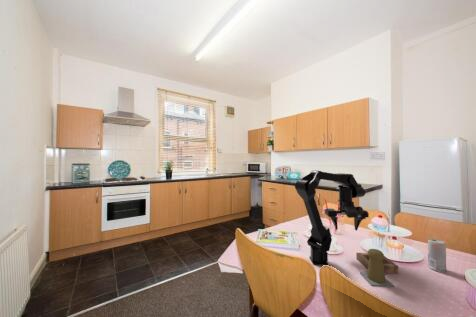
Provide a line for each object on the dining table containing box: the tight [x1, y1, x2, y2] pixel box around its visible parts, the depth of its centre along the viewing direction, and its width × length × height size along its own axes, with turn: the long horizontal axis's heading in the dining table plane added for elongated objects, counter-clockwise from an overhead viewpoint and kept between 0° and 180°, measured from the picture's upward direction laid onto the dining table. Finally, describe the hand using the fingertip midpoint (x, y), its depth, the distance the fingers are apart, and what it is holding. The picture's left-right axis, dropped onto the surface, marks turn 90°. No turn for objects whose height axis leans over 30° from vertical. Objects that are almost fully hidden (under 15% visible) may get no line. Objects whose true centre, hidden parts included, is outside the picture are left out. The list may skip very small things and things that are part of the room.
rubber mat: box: [359, 271, 395, 288], centre depth 75 cm, size 8×8×1 cm
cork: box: [366, 248, 386, 283], centre depth 75 cm, size 6×6×11 cm
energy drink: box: [427, 238, 447, 274], centre depth 82 cm, size 5×5×12 cm
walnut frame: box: [355, 252, 399, 274], centre depth 85 cm, size 11×11×3 cm
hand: (346, 230), depth 96 cm, fingers open, 9 cm apart
